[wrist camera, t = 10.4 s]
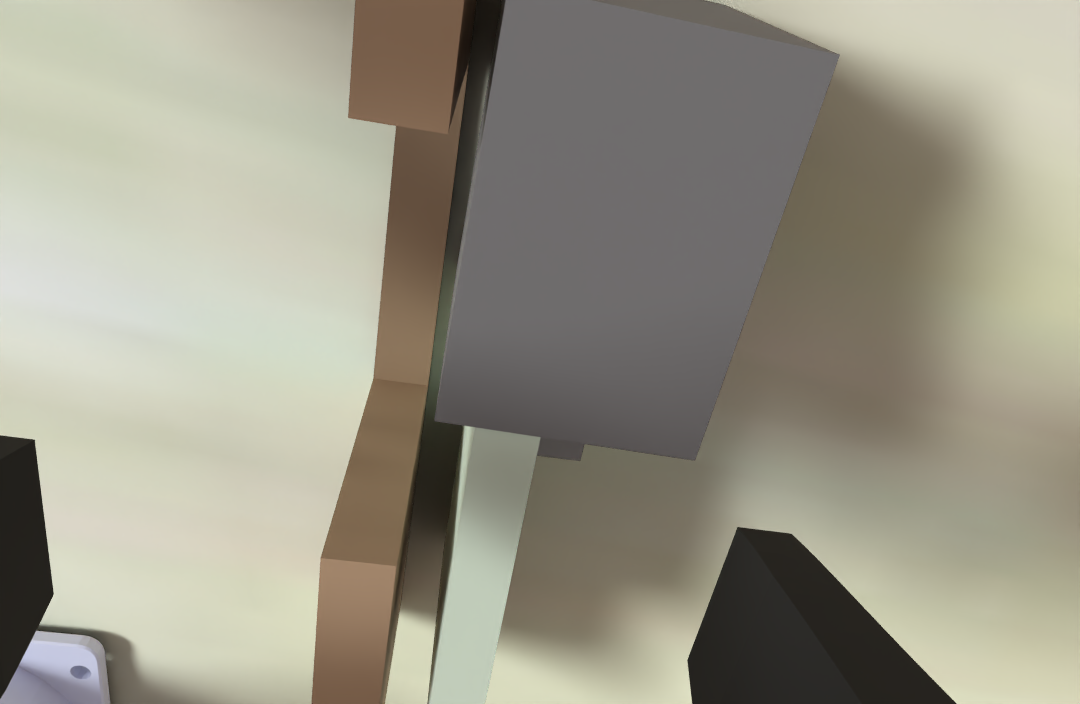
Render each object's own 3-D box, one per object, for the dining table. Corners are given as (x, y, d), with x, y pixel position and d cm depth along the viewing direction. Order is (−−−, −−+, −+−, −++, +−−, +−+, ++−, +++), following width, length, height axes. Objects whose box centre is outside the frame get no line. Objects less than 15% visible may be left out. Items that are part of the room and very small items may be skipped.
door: (522, 560, 21) (525, 758, 16) (443, 552, 20) (422, 750, 16) (579, 293, 17) (606, 442, 12) (485, 279, 17) (474, 425, 12)
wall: (400, 604, 22) (365, 827, 16) (354, 600, 22) (304, 823, 16) (484, -62, 14) (469, -47, 9) (416, -75, 14) (359, -67, 9)
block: (639, 297, 18) (695, 460, 12) (457, 265, 17) (434, 420, 12) (723, 4, 15) (839, 55, 10) (509, -44, 15) (509, -18, 9)
